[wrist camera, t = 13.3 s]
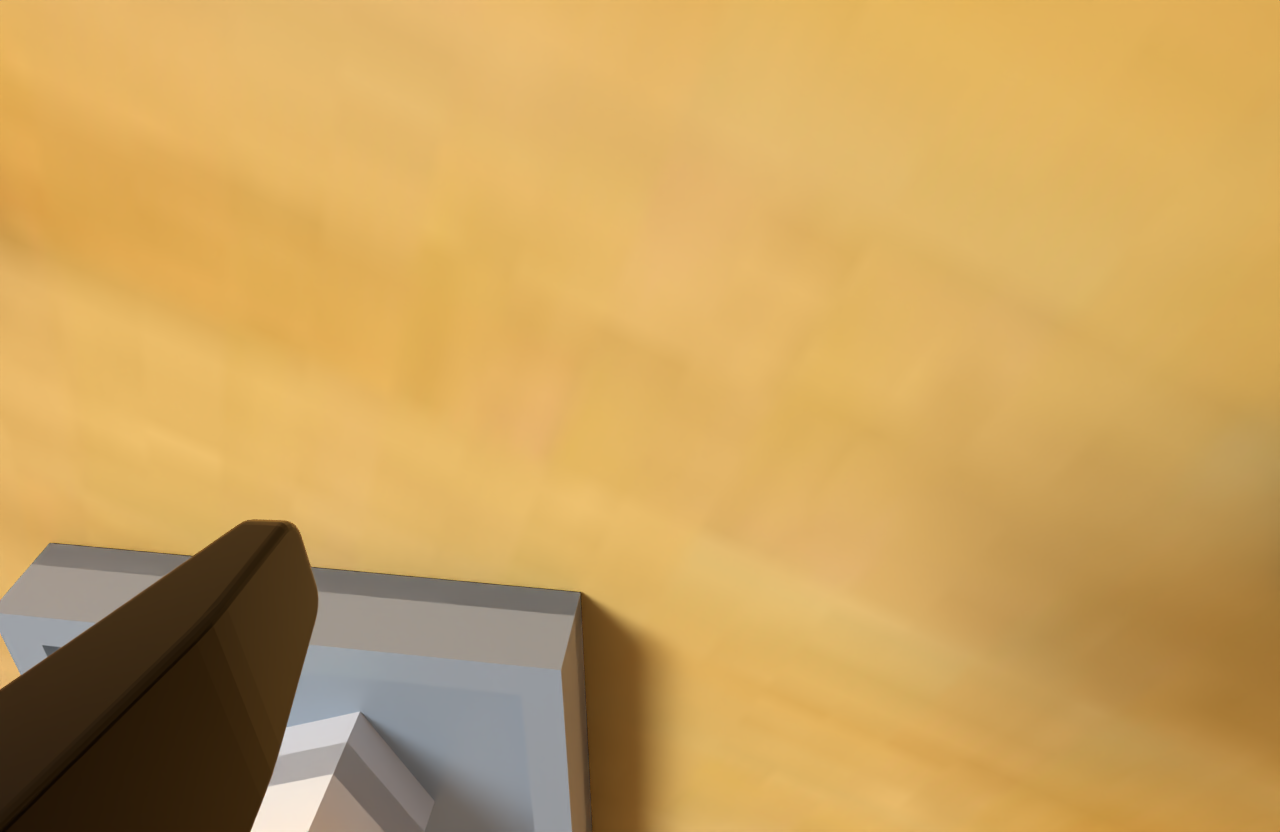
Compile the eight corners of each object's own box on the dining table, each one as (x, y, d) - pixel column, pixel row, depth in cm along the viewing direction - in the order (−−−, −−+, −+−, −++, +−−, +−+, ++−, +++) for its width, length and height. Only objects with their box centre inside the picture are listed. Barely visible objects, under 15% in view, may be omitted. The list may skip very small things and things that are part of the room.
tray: (580, 592, 26) (560, 670, 24) (595, 908, 35) (582, 986, 33) (49, 543, 28) (-10, 612, 26) (183, 856, 36) (145, 928, 34)
